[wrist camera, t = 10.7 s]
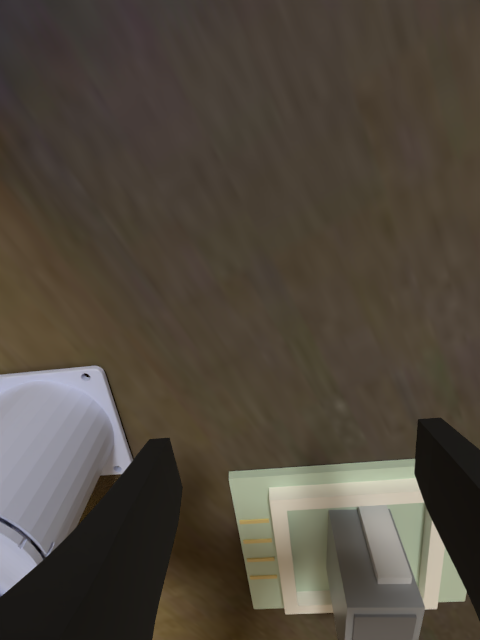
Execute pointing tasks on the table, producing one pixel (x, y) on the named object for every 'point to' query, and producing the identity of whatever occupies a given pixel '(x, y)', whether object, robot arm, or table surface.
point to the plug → (371, 577)
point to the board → (312, 528)
